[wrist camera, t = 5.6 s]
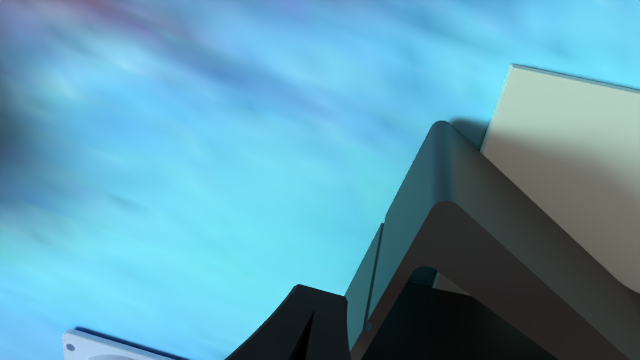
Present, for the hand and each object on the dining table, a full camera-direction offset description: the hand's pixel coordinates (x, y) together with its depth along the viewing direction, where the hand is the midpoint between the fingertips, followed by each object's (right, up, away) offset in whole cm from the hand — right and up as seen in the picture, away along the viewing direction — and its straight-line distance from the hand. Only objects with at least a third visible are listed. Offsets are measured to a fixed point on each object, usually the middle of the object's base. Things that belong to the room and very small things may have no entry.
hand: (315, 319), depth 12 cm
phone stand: (+2, +1, +3) cm, 4 cm away
